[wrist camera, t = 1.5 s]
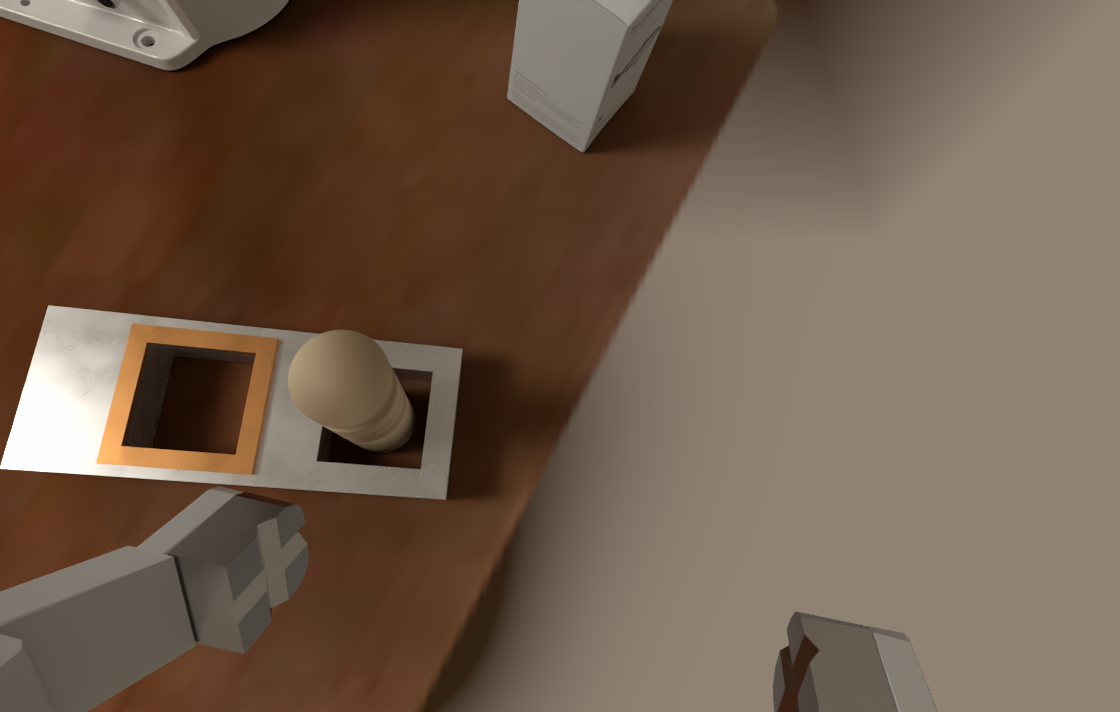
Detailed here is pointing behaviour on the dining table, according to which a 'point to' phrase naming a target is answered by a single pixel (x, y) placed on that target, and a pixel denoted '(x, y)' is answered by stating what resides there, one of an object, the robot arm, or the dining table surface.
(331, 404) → the peg
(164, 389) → the board
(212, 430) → the dining table surface
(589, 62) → the supplement box
